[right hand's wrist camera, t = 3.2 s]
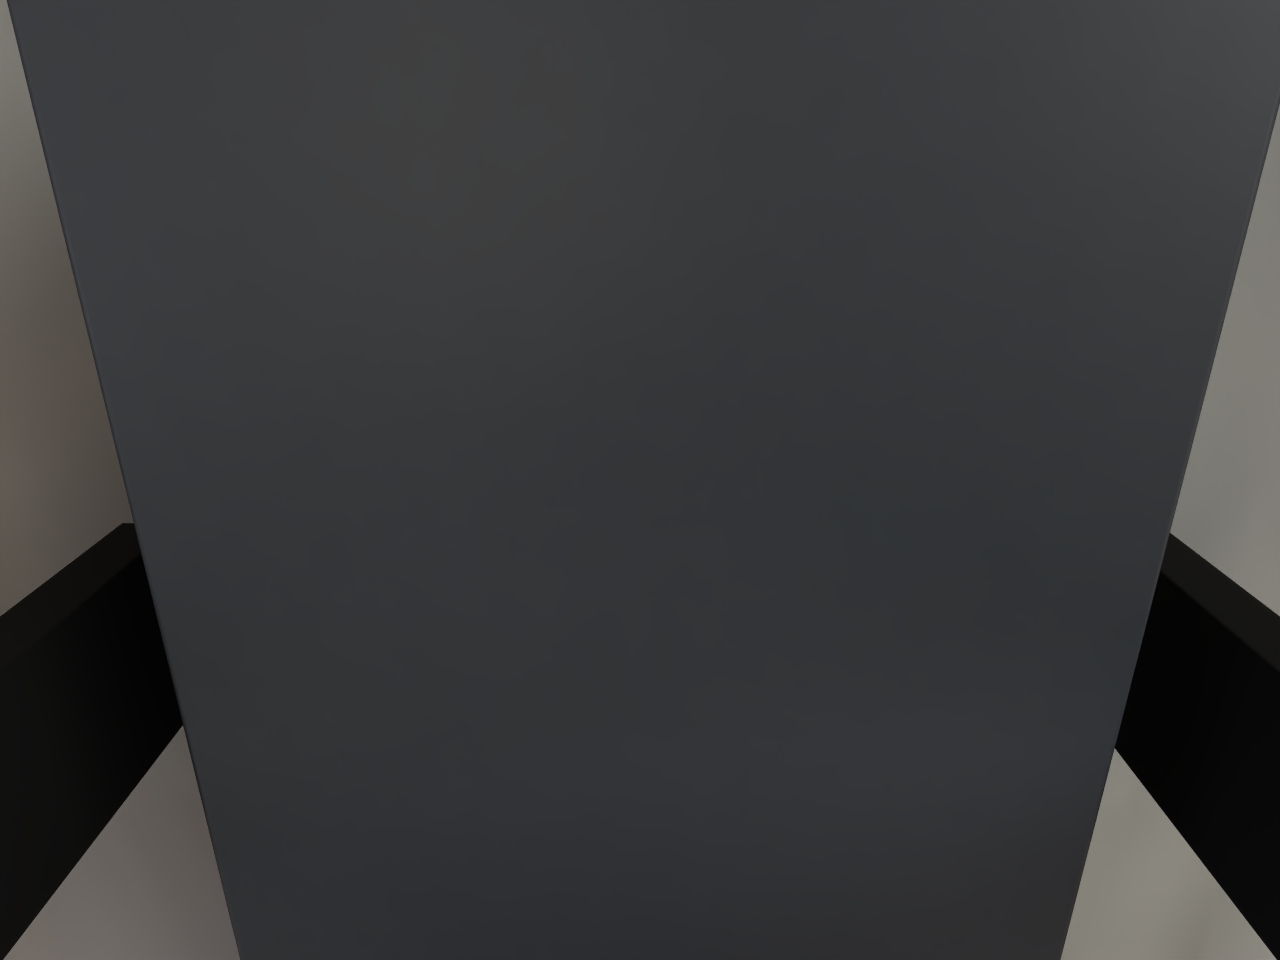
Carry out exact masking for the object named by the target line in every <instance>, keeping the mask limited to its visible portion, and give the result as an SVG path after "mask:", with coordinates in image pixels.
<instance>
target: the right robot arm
mask: <svg viewBox="0 0 1280 960" xmlns="http://www.w3.org/2000/svg"><path fill="white" fill-rule="evenodd" d="M182 725H183V722H182V718H181V714H180V709H179V705H178V701H177V697H176V693H175V689H174V685H173V681H172V677H171V672H170V668H169V664H168V660H167V656H166V652H165V648H164V644H163V640H162V636H161V631H160V627H159V623H158V619H157V615H156V611H155V607H154V603H153V599H152V594H151V590H150V586H149V582H148V578H147V574H146V570H145V566H144V562H143V558H142V553H141V549H140V545H139V541H138V537H137V533H136V529H135V525H134V523H122V524H121V525H120V526H118V527H117V528H116V529H114V530H113V531H112V532H110V533H109V534H108V535H106V536H105V537H104V538H103V539H101V540H100V541H99V542H97V543H96V544H95V545H93V546H92V547H91V548H89V549H88V550H87V551H86V552H84V553H83V554H82V555H80V556H79V557H78V558H76V559H75V560H74V561H72V562H71V563H70V564H68V565H67V566H66V567H65V568H63V569H62V570H61V571H59V572H58V573H57V574H55V575H54V576H53V577H51V578H50V579H49V580H48V581H46V582H45V583H44V584H42V585H41V586H40V587H38V588H37V589H36V590H34V591H33V592H32V593H30V594H29V595H28V596H27V597H25V598H24V599H23V600H21V601H20V602H19V603H17V604H16V605H15V606H13V607H12V608H11V609H10V610H8V611H7V612H6V613H4V614H3V615H2V616H0V960H3V959H4V958H5V956H6V955H7V954H8V953H9V951H10V950H11V949H12V947H13V946H14V945H15V943H16V942H17V941H18V939H19V938H20V937H21V936H22V934H23V933H24V932H25V930H26V929H27V928H28V926H29V925H30V924H31V923H32V921H33V920H34V919H35V917H36V916H37V915H38V913H39V912H40V911H41V909H42V908H43V907H44V906H45V904H46V903H47V902H48V900H49V899H50V898H51V896H52V895H53V894H54V892H55V891H56V890H57V889H58V887H59V886H60V885H61V883H62V882H63V881H64V879H65V878H66V877H67V876H68V874H69V873H70V872H71V870H72V869H73V868H74V866H75V865H76V864H77V862H78V861H79V860H80V859H81V857H82V856H83V855H84V853H85V852H86V851H87V849H88V848H89V847H90V846H91V844H92V843H93V842H94V840H95V839H96V838H97V836H98V835H99V834H100V832H101V831H102V830H103V829H104V827H105V826H106V825H107V823H108V822H109V821H110V819H111V818H112V817H113V815H114V814H115V813H116V812H117V810H118V809H119V808H120V806H121V805H122V804H123V802H124V801H125V800H126V799H127V797H128V796H129V795H130V793H131V792H132V791H133V789H134V788H135V787H136V785H137V784H138V783H139V782H140V780H141V779H142V778H143V776H144V775H145V774H146V772H147V771H148V770H149V769H150V767H151V766H152V765H153V763H154V762H155V761H156V759H157V758H158V757H159V755H160V754H161V753H162V752H163V750H164V749H165V748H166V746H167V745H168V744H169V742H170V741H171V740H172V738H173V737H174V736H175V735H176V733H177V732H178V731H179V729H180V728H181V727H182ZM1115 749H1116V750H1117V752H1118V753H1119V754H1120V755H1121V757H1122V758H1123V759H1124V761H1125V762H1126V763H1127V765H1128V766H1129V767H1130V769H1131V770H1132V771H1133V772H1134V774H1135V775H1136V776H1137V778H1138V779H1139V780H1140V782H1141V783H1142V784H1143V785H1144V787H1145V788H1146V789H1147V791H1148V792H1149V793H1150V795H1151V796H1152V797H1153V799H1154V800H1155V801H1156V802H1157V804H1158V805H1159V806H1160V808H1161V809H1162V810H1163V812H1164V813H1165V814H1166V815H1167V817H1168V818H1169V819H1170V821H1171V822H1172V823H1173V825H1174V826H1175V827H1176V829H1177V830H1178V831H1179V832H1180V834H1181V835H1182V836H1183V838H1184V839H1185V840H1186V842H1187V843H1188V844H1189V846H1190V847H1191V848H1192V849H1193V851H1194V852H1195V853H1196V855H1197V856H1198V857H1199V859H1200V860H1201V861H1202V862H1203V864H1204V865H1205V866H1206V868H1207V869H1208V870H1209V872H1210V873H1211V874H1212V876H1213V877H1214V878H1215V879H1216V881H1217V882H1218V883H1219V885H1220V886H1221V887H1222V889H1223V890H1224V891H1225V892H1226V894H1227V895H1228V896H1229V898H1230V899H1231V900H1232V902H1233V903H1234V904H1235V906H1236V907H1237V908H1238V909H1239V911H1240V912H1241V913H1242V915H1243V916H1244V917H1245V919H1246V920H1247V921H1248V923H1249V924H1250V925H1251V926H1252V928H1253V929H1254V930H1255V932H1256V933H1257V934H1258V936H1259V937H1260V938H1261V939H1262V941H1263V942H1264V943H1265V945H1266V946H1267V947H1268V949H1269V950H1270V951H1271V953H1272V954H1273V955H1274V956H1275V958H1276V959H1277V960H1280V616H1278V615H1277V614H1276V613H1274V612H1273V611H1272V610H1270V609H1269V608H1268V607H1267V606H1265V605H1264V604H1263V603H1261V602H1260V601H1259V600H1257V599H1256V598H1255V597H1253V596H1252V595H1251V594H1250V593H1248V592H1247V591H1246V590H1244V589H1243V588H1242V587H1240V586H1239V585H1238V584H1236V583H1235V582H1234V581H1232V580H1231V579H1230V578H1229V577H1227V576H1226V575H1225V574H1223V573H1222V572H1221V571H1219V570H1218V569H1217V568H1215V567H1214V566H1213V565H1212V564H1210V563H1209V562H1208V561H1206V560H1205V559H1204V558H1202V557H1201V556H1200V555H1198V554H1197V553H1196V552H1194V551H1193V550H1192V549H1191V548H1189V547H1188V546H1187V545H1185V544H1184V543H1183V542H1181V541H1180V540H1179V539H1177V538H1176V537H1175V536H1174V535H1172V534H1171V533H1169V537H1168V541H1167V545H1166V549H1165V553H1164V557H1163V561H1162V565H1161V569H1160V572H1159V576H1158V580H1157V584H1156V588H1155V592H1154V596H1153V600H1152V604H1151V608H1150V611H1149V615H1148V619H1147V623H1146V627H1145V631H1144V635H1143V639H1142V643H1141V647H1140V651H1139V654H1138V658H1137V662H1136V666H1135V670H1134V674H1133V678H1132V682H1131V686H1130V690H1129V693H1128V697H1127V701H1126V705H1125V709H1124V713H1123V717H1122V721H1121V725H1120V729H1119V733H1118V736H1117V740H1116V744H1115Z"/></svg>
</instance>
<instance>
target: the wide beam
mask: <svg viewBox="0 0 1280 960" xmlns="http://www.w3.org/2000/svg"><path fill="white" fill-rule="evenodd" d="M7 3H8V7H9V11H10V15H11V20H12V24H13V28H14V32H15V36H16V40H17V44H18V48H19V52H20V57H21V61H22V65H23V69H24V73H25V77H26V81H27V85H28V89H29V93H30V98H31V102H32V106H33V110H34V114H35V118H36V122H37V126H38V130H39V135H40V139H41V143H42V147H43V151H44V155H45V159H46V163H47V167H48V172H49V176H50V180H51V184H52V188H53V192H54V196H55V200H56V204H57V208H58V213H59V217H60V221H61V225H62V229H63V233H64V237H65V241H66V245H67V250H68V254H69V258H70V262H71V266H72V270H73V274H74V278H75V282H76V286H77V291H78V295H79V299H80V303H81V307H82V311H83V315H84V319H85V323H86V328H87V332H88V336H89V340H90V344H91V348H92V352H93V356H94V360H95V365H96V369H97V373H98V377H99V381H100V385H101V389H102V393H103V397H104V401H105V406H106V410H107V414H108V418H109V422H110V426H111V430H112V434H113V438H114V443H115V447H116V451H117V455H118V459H119V463H120V467H121V471H122V475H123V479H124V484H125V488H126V492H127V496H128V500H129V504H130V508H131V512H132V516H133V521H134V525H135V529H136V533H137V537H138V541H139V545H140V549H141V553H142V558H143V562H144V566H145V570H146V574H147V578H148V582H149V586H150V590H151V594H152V599H153V603H154V607H155V611H156V615H157V619H158V623H159V627H160V631H161V636H162V640H163V644H164V648H165V652H166V656H167V660H168V664H169V668H170V672H171V677H172V681H173V685H174V689H175V693H176V697H177V701H178V705H179V709H180V714H181V718H182V722H183V726H184V730H185V734H186V738H187V742H188V746H189V751H190V755H191V759H192V763H193V767H194V771H195V775H196V779H197V783H198V787H199V792H200V796H201V800H202V804H203V808H204V812H205V816H206V820H207V824H208V829H209V833H210V837H211V841H212V845H213V849H214V853H215V857H216V861H217V865H218V870H219V874H220V878H221V882H222V886H223V890H224V894H225V898H226V902H227V907H228V911H229V915H230V919H231V923H232V927H233V931H234V935H235V939H236V944H237V948H238V952H239V956H240V960H1060V959H1061V955H1062V951H1063V947H1064V943H1065V940H1066V936H1067V932H1068V928H1069V924H1070V920H1071V916H1072V912H1073V908H1074V904H1075V900H1076V897H1077V893H1078V889H1079V885H1080V881H1081V877H1082V873H1083V869H1084V865H1085V861H1086V858H1087V854H1088V850H1089V846H1090V842H1091V838H1092V834H1093V830H1094V826H1095V822H1096V818H1097V815H1098V811H1099V807H1100V803H1101V799H1102V795H1103V791H1104V787H1105V783H1106V779H1107V775H1108V772H1109V768H1110V764H1111V760H1112V756H1113V752H1114V748H1115V744H1116V740H1117V736H1118V733H1119V729H1120V725H1121V721H1122V717H1123V713H1124V709H1125V705H1126V701H1127V697H1128V693H1129V690H1130V686H1131V682H1132V678H1133V674H1134V670H1135V666H1136V662H1137V658H1138V654H1139V651H1140V647H1141V643H1142V639H1143V635H1144V631H1145V627H1146V623H1147V619H1148V615H1149V611H1150V608H1151V604H1152V600H1153V596H1154V592H1155V588H1156V584H1157V580H1158V576H1159V572H1160V569H1161V565H1162V561H1163V557H1164V553H1165V549H1166V545H1167V541H1168V537H1169V533H1170V529H1171V526H1172V522H1173V518H1174V514H1175V510H1176V506H1177V502H1178V498H1179V494H1180V490H1181V486H1182V483H1183V479H1184V475H1185V471H1186V467H1187V463H1188V459H1189V455H1190V451H1191V447H1192V444H1193V440H1194V436H1195V432H1196V428H1197V424H1198V420H1199V416H1200V412H1201V408H1202V404H1203V401H1204V397H1205V393H1206V389H1207V385H1208V381H1209V377H1210V373H1211V369H1212V365H1213V362H1214V358H1215V354H1216V350H1217V346H1218V342H1219V338H1220V334H1221V330H1222V326H1223V322H1224V319H1225V315H1226V311H1227V307H1228V303H1229V299H1230V295H1231V291H1232V287H1233V283H1234V280H1235V276H1236V272H1237V268H1238V264H1239V260H1240V256H1241V252H1242V248H1243V244H1244V240H1245V237H1246V233H1247V229H1248V225H1249V221H1250V217H1251V213H1252V209H1253V205H1254V201H1255V198H1256V194H1257V190H1258V186H1259V182H1260V178H1261V174H1262V170H1263V166H1264V162H1265V158H1266V155H1267V151H1268V147H1269V143H1270V139H1271V135H1272V131H1273V127H1274V123H1275V119H1276V115H1277V112H1278V108H1279V104H1280V0H7Z"/></svg>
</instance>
